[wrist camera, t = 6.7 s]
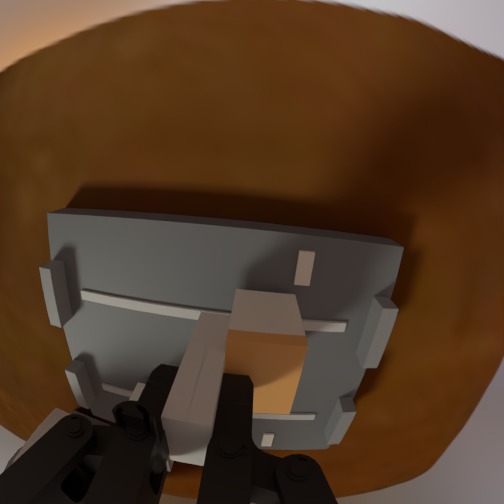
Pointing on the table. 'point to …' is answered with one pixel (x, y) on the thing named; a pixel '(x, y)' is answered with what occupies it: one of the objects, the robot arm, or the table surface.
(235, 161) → the table surface
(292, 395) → the fader
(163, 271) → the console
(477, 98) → the table surface
